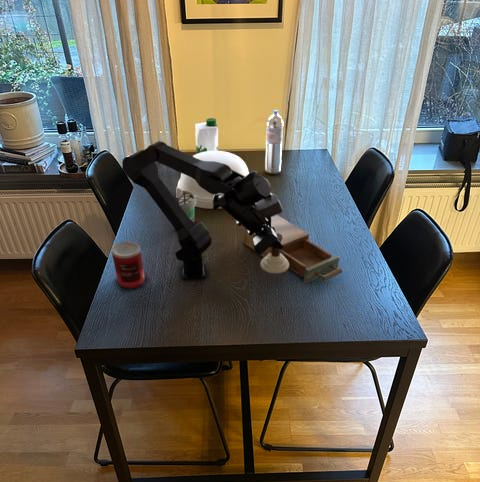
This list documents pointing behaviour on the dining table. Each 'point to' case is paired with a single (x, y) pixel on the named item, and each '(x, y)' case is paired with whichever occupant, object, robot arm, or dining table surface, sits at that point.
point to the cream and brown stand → (275, 260)
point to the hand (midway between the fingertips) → (281, 244)
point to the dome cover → (200, 194)
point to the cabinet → (281, 227)
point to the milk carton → (206, 136)
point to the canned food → (128, 264)
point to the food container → (187, 204)
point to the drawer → (310, 260)
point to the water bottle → (274, 144)
